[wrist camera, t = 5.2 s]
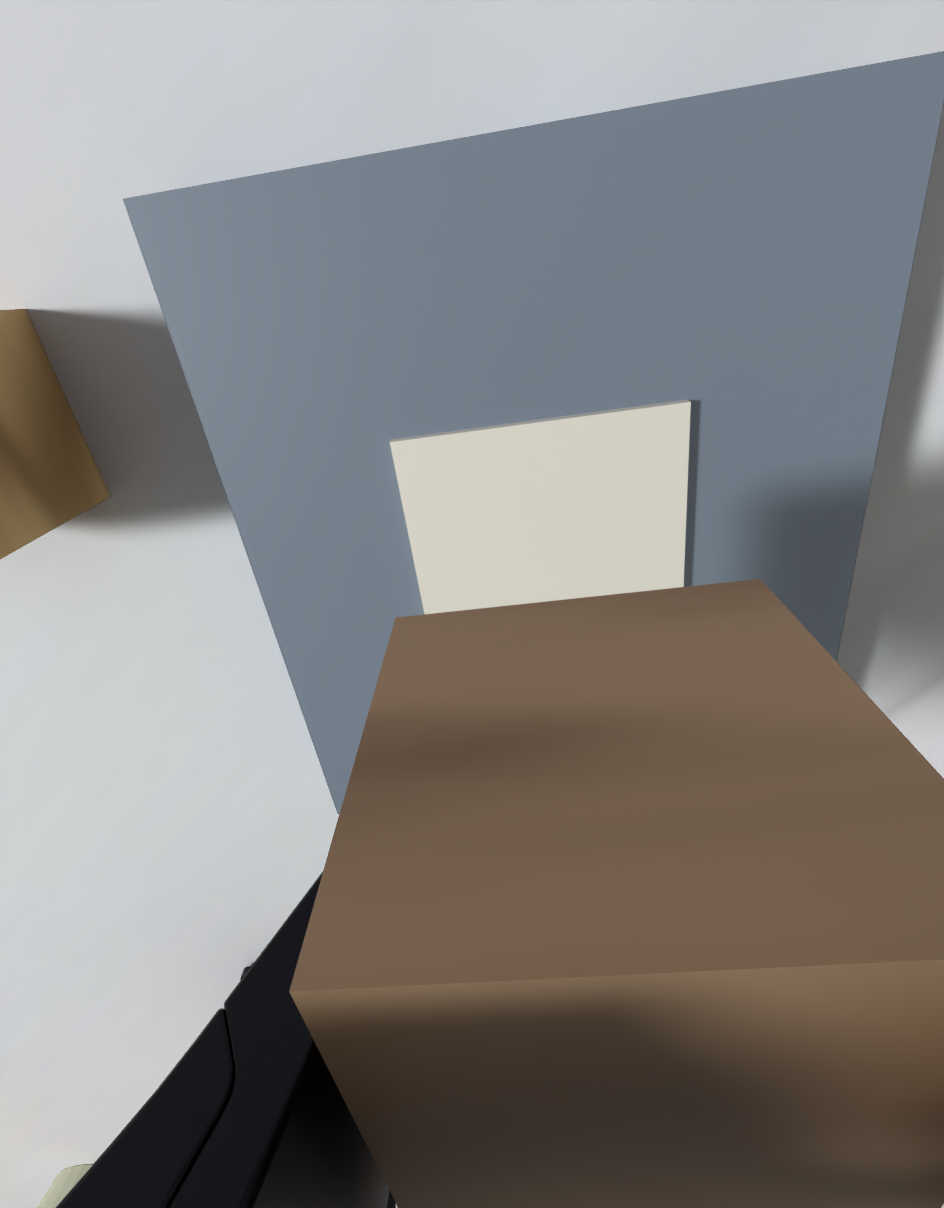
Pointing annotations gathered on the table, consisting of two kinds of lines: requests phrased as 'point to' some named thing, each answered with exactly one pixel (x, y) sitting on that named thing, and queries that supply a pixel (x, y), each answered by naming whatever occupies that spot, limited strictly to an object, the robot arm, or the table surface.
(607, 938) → the walnut block
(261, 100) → the table surface
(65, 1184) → the reusable coffee cup
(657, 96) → the table surface
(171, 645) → the table surface
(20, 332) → the ochre block
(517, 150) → the board
